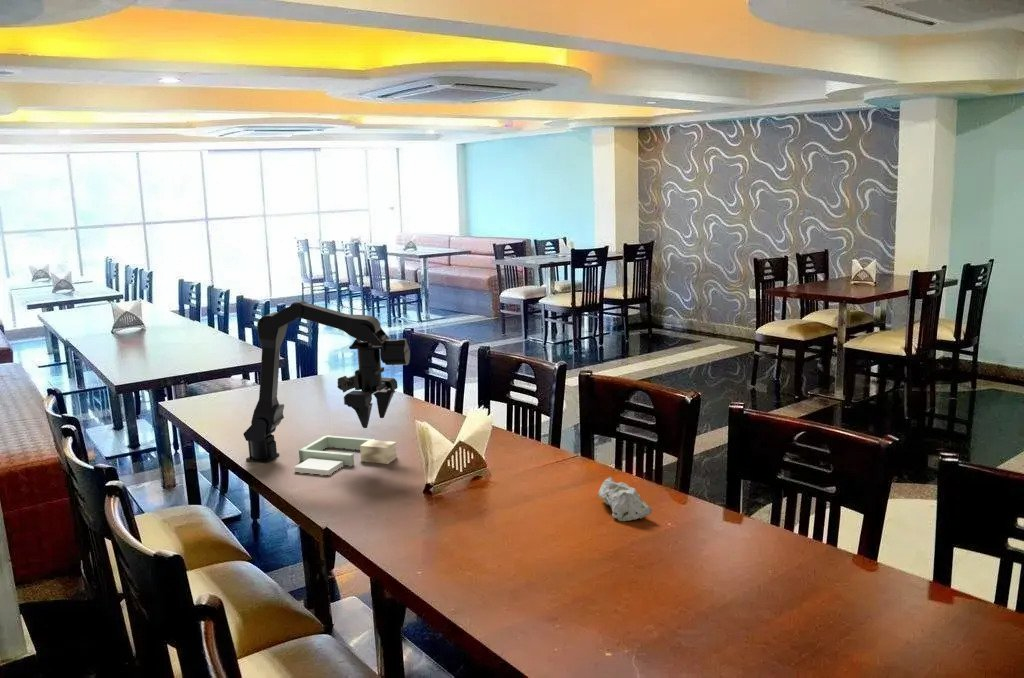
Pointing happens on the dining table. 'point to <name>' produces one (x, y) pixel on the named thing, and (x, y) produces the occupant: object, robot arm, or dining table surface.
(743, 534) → the dining table surface
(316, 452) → the shelf bay
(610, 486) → the rock
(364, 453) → the block
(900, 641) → the dining table surface
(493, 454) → the dining table surface
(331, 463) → the stand
